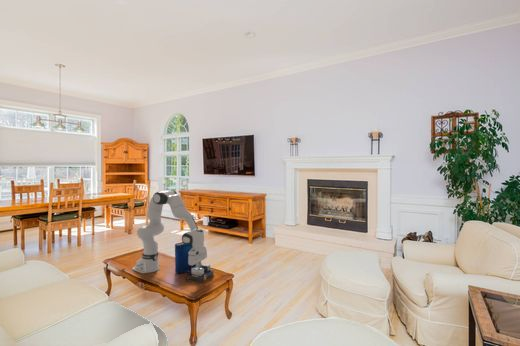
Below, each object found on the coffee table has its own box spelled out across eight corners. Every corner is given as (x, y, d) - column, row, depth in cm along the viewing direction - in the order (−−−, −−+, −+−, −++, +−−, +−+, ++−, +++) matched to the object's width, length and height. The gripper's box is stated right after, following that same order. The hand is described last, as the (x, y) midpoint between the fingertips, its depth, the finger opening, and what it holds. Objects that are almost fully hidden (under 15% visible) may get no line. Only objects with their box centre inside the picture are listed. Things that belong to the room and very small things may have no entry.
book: (176, 275, 214) (176, 244, 213) (173, 272, 220) (173, 242, 219) (201, 269, 227) (201, 240, 226) (198, 266, 233) (198, 238, 232)
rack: (187, 280, 205) (188, 268, 205) (200, 272, 220) (200, 261, 220) (202, 283, 200) (202, 271, 200) (213, 275, 215) (213, 264, 215)
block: (191, 279, 206) (191, 268, 206) (194, 277, 210) (194, 266, 209) (201, 281, 203) (201, 270, 203) (203, 279, 206) (204, 268, 206)
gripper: (202, 245, 216) (202, 262, 217) (186, 252, 198) (186, 271, 198) (209, 246, 214) (208, 263, 214) (193, 254, 195) (193, 272, 195)
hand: (198, 267), depth 206 cm, fingers closed
